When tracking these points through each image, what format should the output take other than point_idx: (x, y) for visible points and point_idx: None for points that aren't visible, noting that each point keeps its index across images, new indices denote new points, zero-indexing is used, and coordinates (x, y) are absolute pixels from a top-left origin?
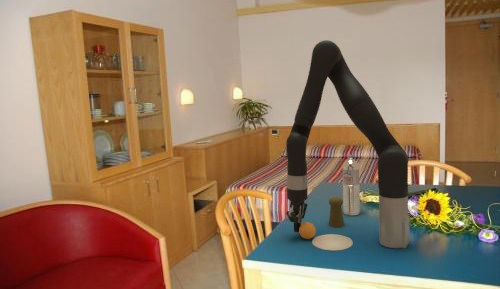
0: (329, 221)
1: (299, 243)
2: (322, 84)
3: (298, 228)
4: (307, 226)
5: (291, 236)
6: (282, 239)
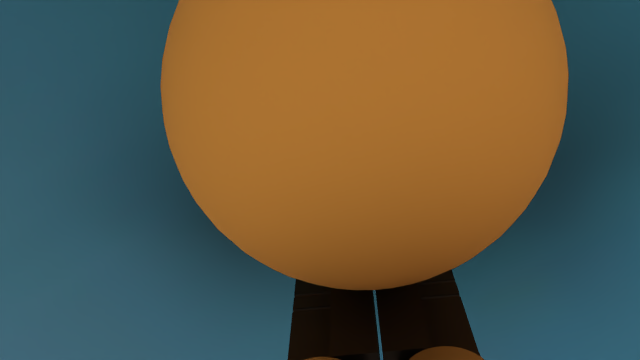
0: None
1: (618, 43)
2: None
3: None
4: (509, 63)
5: None
6: (563, 319)
